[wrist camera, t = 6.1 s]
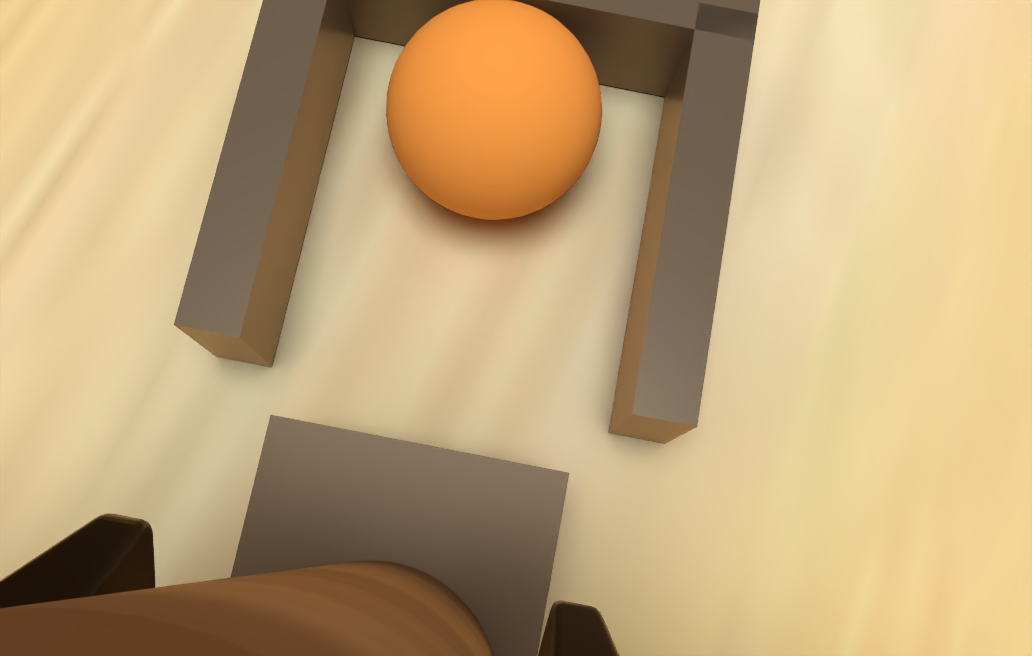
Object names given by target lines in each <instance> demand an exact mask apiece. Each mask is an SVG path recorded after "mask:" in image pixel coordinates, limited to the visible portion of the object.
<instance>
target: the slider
mask: <svg viewBox="0 0 1032 656" xmlns="http://www.w3.org/2000/svg"><path fill="white" fill-rule="evenodd" d="M568 477H569V473H567V472H561V471H556V470H551V469H546V468H541V467H536V466H531V465H526V464H520V463H515V462H510V461H505V460H500V459H495V458H490V457H484V456H479V455H474V454H469V453H464V452H459V451H454V450H449V449H443V448H438V447H433V446H428V445H423V444H418V443H413V442H407V441H402V440H397V439H392V438H387V437H382V436H377V435H371V434H366V433H361V432H356V431H351V430H346V429H341V428H336V427H330V426H325V425H320V424H315V423H310V422H305V421H300V420H294V419H289V418H284V417H279V416H274V415H271V416H270V420H269V424H268V428H267V432H266V436H265V440H264V444H263V448H262V452H261V456H260V460H259V464H258V469H257V473H256V477H255V481H254V485H253V489H252V493H251V497H250V501H249V505H248V509H247V513H246V517H245V521H244V525H243V529H242V533H241V537H240V541H239V545H238V550H237V554H236V558H235V562H234V566H233V570H232V574H231V578H226V579H219V580H211V581H204V582H196V583H189V584H181V585H173V586H166V587H158V588H151V589H143V590H136V591H128V592H120V593H113V594H105V595H98V596H90V597H82V598H75V599H67V600H60V601H52V602H45V603H37V604H29V605H22V606H14V607H7V608H0V656H537V653H538V647H539V642H540V636H541V630H542V625H543V619H544V613H545V608H546V602H547V596H548V591H549V585H550V579H551V573H552V568H553V562H554V556H555V551H556V545H557V539H558V534H559V528H560V522H561V517H562V511H563V505H564V499H565V494H566V488H567V482H568Z"/></svg>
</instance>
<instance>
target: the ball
mask: <svg viewBox="0 0 1032 656" xmlns="http://www.w3.org/2000/svg"><path fill="white" fill-rule="evenodd" d="M386 117H387V125H388V131H389V136H390V139H391V143H392V146H393V149H394V151H395V153H396V156H397V158H398V160H399V162H400V164H401V165H402V167H403V169H404V170H405V172H406V173H407V175H408V176H409V177H410V179H411V180H412V181H413V182H414V183H415V184H416V185H417V186H418V187H419V188H420V189H421V190H422V191H423V192H424V193H425V194H426V195H427V196H428V197H430V198H431V199H432V200H434V201H436V202H437V203H439V204H440V205H442V206H443V207H445V208H447V209H449V210H451V211H454V212H456V213H459V214H462V215H465V216H469V217H473V218H479V219H488V220H500V219H509V218H516V217H520V216H524V215H527V214H529V213H532V212H535V211H538V210H540V209H542V208H544V207H545V206H547V205H549V204H551V203H552V202H554V201H555V200H557V199H558V198H559V197H560V196H562V195H563V194H564V193H565V192H566V191H567V190H568V189H569V188H570V187H571V186H572V185H573V184H574V183H575V182H576V181H577V180H578V178H579V177H580V176H581V174H582V173H583V171H584V169H585V168H586V166H587V165H588V163H589V161H590V159H591V156H592V154H593V152H594V149H595V147H596V144H597V141H598V137H599V133H600V127H601V118H602V104H601V92H600V87H599V83H598V79H597V75H596V72H595V70H594V67H593V65H592V63H591V61H590V58H589V56H588V54H587V53H586V51H585V50H584V48H583V47H582V45H581V44H580V42H579V41H578V39H577V38H576V37H575V36H574V35H573V34H572V33H571V32H570V31H569V30H568V29H567V28H566V27H565V26H564V25H563V24H562V23H560V22H559V21H558V20H557V19H555V18H554V17H552V16H551V15H549V14H547V13H546V12H544V11H542V10H540V9H537V8H535V7H533V6H530V5H527V4H524V3H521V2H517V1H512V0H474V1H470V2H466V3H463V4H459V5H456V6H454V7H451V8H449V9H447V10H446V11H444V12H442V13H440V14H438V15H437V16H435V17H433V18H432V19H431V20H430V21H428V22H427V23H426V24H425V25H424V26H422V27H421V28H420V29H419V30H418V31H417V32H416V33H415V35H414V36H413V37H412V38H411V39H410V41H409V42H408V43H407V44H406V46H405V47H404V49H403V51H402V53H401V54H400V56H399V58H398V60H397V62H396V64H395V66H394V69H393V72H392V75H391V78H390V82H389V87H388V92H387V107H386Z"/></svg>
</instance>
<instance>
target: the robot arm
mask: <svg viewBox="0 0 1032 656" xmlns="http://www.w3.org/2000/svg"><path fill="white" fill-rule="evenodd" d="M151 588H155V567H154V547H153V532H152V528H151V526H150V524H149V523H148V522H147V521H144V520H142V519H137V518H132V517H127V516H122V515H117V514H104V515H101V516H98V517H97V518H95V519H93V520H92V521H90V522H89V523H87V524H86V525H84V526H83V527H81V528H80V529H78V530H77V531H75V532H74V533H72V534H71V535H69V536H68V537H66V538H65V539H63V540H62V541H60V542H59V543H57V544H56V545H54V546H52V547H51V548H49V549H48V550H46V551H45V552H43V553H42V554H40V555H39V556H37V557H36V558H34V559H33V560H31V561H30V562H28V563H27V564H25V565H24V566H22V567H21V568H19V569H18V570H16V571H15V572H13V573H12V574H10V575H9V576H7V577H5V578H4V579H2V580H1V581H0V608H7V607H14V606H22V605H29V604H37V603H45V602H52V601H60V600H67V599H75V598H82V597H90V596H98V595H105V594H113V593H120V592H128V591H136V590H143V589H151ZM538 656H619V654H618V652H617V649H616V647H615V645H614V642H613V640H612V638H611V635H610V633H609V631H608V628H607V626H606V624H605V621H604V619H603V617H602V615H601V613H600V612H599V611H598V610H597V609H596V608H594V607H591V606H587V605H582V604H576V603H571V602H566V601H557V602H555V603H554V604H553V605H552V608H551V610H550V614H549V617H548V621H547V625H546V628H545V632H544V636H543V639H542V643H541V647H540V650H539V654H538Z"/></svg>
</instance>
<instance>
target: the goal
mask: <svg viewBox="0 0 1032 656" xmlns="http://www.w3.org/2000/svg"><path fill="white" fill-rule="evenodd" d="M470 1H474V0H263V3H262V6H261V10H260V13H259V17H258V21H257V24H256V28H255V32H254V35H253V39H252V43H251V46H250V50H249V53H248V57H247V61H246V64H245V68H244V72H243V75H242V79H241V83H240V86H239V90H238V93H237V97H236V101H235V104H234V108H233V112H232V115H231V119H230V123H229V126H228V130H227V133H226V137H225V141H224V144H223V148H222V152H221V155H220V159H219V163H218V166H217V170H216V174H215V177H214V181H213V184H212V188H211V192H210V195H209V199H208V203H207V206H206V210H205V214H204V217H203V221H202V224H201V228H200V232H199V235H198V239H197V243H196V246H195V250H194V254H193V257H192V261H191V264H190V268H189V272H188V275H187V279H186V283H185V286H184V290H183V294H182V297H181V301H180V304H179V308H178V312H177V315H176V319H175V323H174V325H175V326H176V327H178V328H179V329H180V330H182V331H183V332H184V333H186V334H187V335H188V336H190V337H191V338H192V339H194V340H195V341H196V342H198V343H199V344H200V345H202V346H203V347H204V348H206V349H207V350H208V351H209V352H211V353H212V354H213V355H215V356H218V357H223V358H228V359H233V360H238V361H243V362H248V363H253V364H259V365H264V366H269V367H272V365H273V361H274V357H275V353H276V349H277V345H278V341H279V337H280V333H281V329H282V325H283V321H284V317H285V312H286V308H287V304H288V300H289V296H290V292H291V288H292V284H293V280H294V276H295V272H296V268H297V264H298V260H299V256H300V252H301V248H302V244H303V240H304V236H305V232H306V228H307V224H308V220H309V216H310V212H311V208H312V204H313V200H314V196H315V192H316V188H317V184H318V180H319V176H320V172H321V168H322V164H323V160H324V156H325V152H326V148H327V144H328V140H329V136H330V132H331V128H332V124H333V120H334V116H335V112H336V108H337V104H338V100H339V96H340V92H341V88H342V84H343V80H344V76H345V72H346V68H347V64H348V60H349V56H350V52H351V48H352V44H353V40H354V36H359V37H364V38H369V39H374V40H379V41H384V42H390V43H395V44H400V45H405V46H406V44H407V43H408V42H409V41H410V39H411V38H412V37H413V36H414V35H415V33H416V32H417V31H418V30H419V29H420V28H421V27H422V26H424V25H425V24H426V23H427V22H428V21H430V20H431V19H432V18H433V17H435V16H437V15H438V14H440V13H442V12H444V11H446V10H447V9H449V8H451V7H454V6H456V5H459V4H463V3H466V2H470ZM512 1H517V2H521V3H524V4H527V5H530V6H533V7H535V8H537V9H540V10H542V11H544V12H546V13H547V14H549V15H551V16H552V17H554V18H555V19H557V20H558V21H559V22H560V23H562V24H563V25H564V26H565V27H566V28H567V29H568V30H569V31H570V32H571V33H572V34H573V35H574V36H575V37H576V38H577V39H578V41H579V42H580V44H581V45H582V47H583V48H584V50H585V51H586V53H587V54H588V56H589V58H590V61H591V63H592V65H593V67H594V70H595V72H596V75H597V79H598V83H599V84H603V85H608V86H613V87H618V88H623V89H628V90H633V91H638V92H644V93H649V94H654V95H659V96H664V97H665V101H664V107H663V113H662V119H661V124H660V130H659V136H658V142H657V148H656V154H655V160H654V166H653V172H652V178H651V184H650V190H649V196H648V202H647V208H646V214H645V220H644V225H643V231H642V237H641V243H640V249H639V255H638V261H637V267H636V273H635V279H634V285H633V291H632V297H631V303H630V309H629V315H628V321H627V327H626V332H625V338H624V344H623V350H622V356H621V362H620V368H619V374H618V380H617V386H616V392H615V398H614V404H613V410H612V416H611V422H610V428H609V433H612V434H618V435H623V436H628V437H633V438H638V439H643V440H648V441H653V442H659V443H664V444H665V443H667V442H669V441H671V440H673V439H675V438H676V437H678V436H680V435H682V434H684V433H686V432H688V431H690V430H692V429H694V428H696V427H697V423H698V417H699V410H700V403H701V396H702V390H703V383H704V376H705V369H706V363H707V356H708V349H709V342H710V336H711V329H712V322H713V315H714V309H715V302H716V295H717V288H718V282H719V275H720V268H721V261H722V255H723V248H724V241H725V234H726V228H727V221H728V214H729V207H730V201H731V194H732V187H733V180H734V174H735V167H736V160H737V153H738V147H739V140H740V133H741V126H742V120H743V113H744V106H745V99H746V93H747V86H748V79H749V72H750V66H751V59H752V52H753V45H754V39H755V32H756V25H757V18H758V12H759V5H760V0H512Z"/></svg>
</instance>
